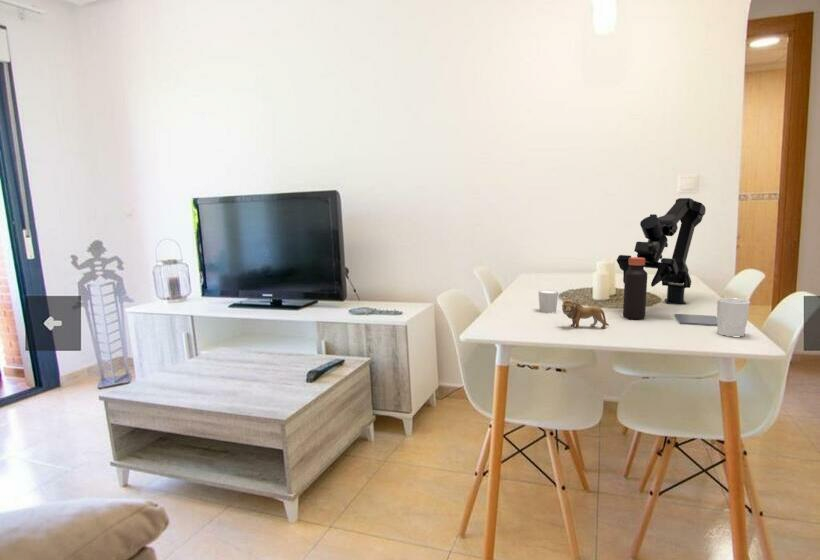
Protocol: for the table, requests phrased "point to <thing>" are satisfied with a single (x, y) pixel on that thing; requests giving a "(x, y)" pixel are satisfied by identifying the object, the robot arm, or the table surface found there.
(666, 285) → the robot arm
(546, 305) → the ribbed white pot
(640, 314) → the vinegar
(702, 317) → the slate coaster
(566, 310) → the lion figurine
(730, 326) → the white cup
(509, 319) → the table surface
